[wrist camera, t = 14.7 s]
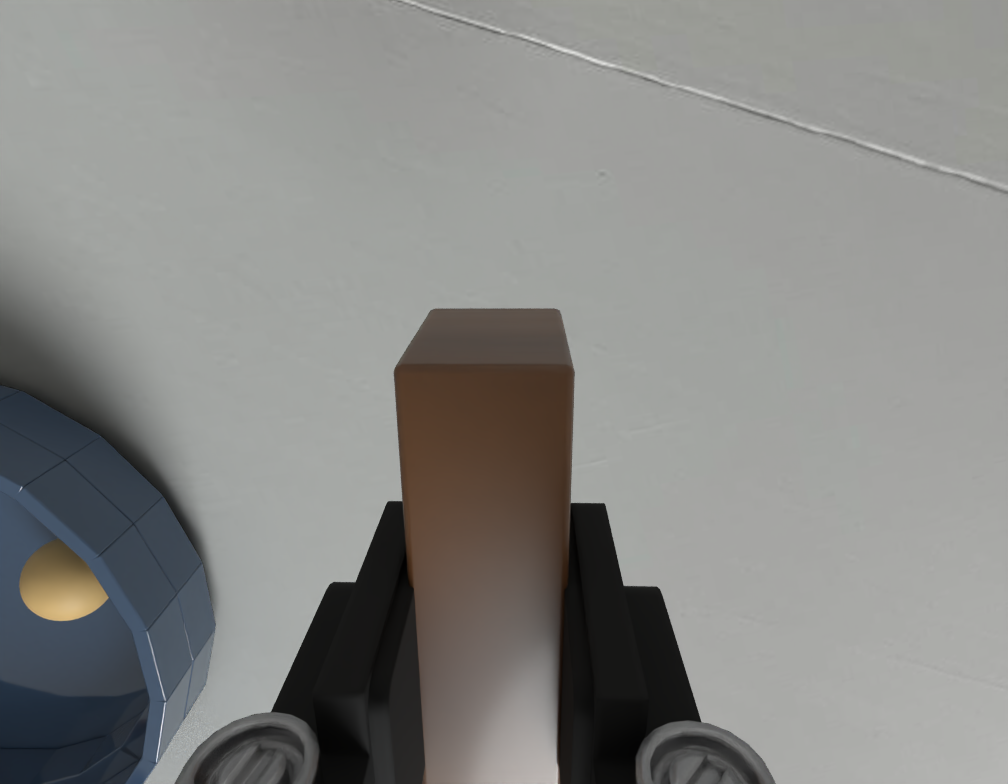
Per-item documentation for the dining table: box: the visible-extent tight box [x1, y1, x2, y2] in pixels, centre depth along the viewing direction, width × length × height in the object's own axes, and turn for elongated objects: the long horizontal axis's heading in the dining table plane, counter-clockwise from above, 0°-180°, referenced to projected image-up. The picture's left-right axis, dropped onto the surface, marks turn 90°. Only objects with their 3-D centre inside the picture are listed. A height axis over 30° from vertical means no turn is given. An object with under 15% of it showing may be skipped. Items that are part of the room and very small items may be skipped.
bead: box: [19, 538, 109, 621], centre depth 24 cm, size 3×3×3 cm
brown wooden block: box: [394, 309, 575, 784], centre depth 10 cm, size 9×2×3 cm, turn 0°
